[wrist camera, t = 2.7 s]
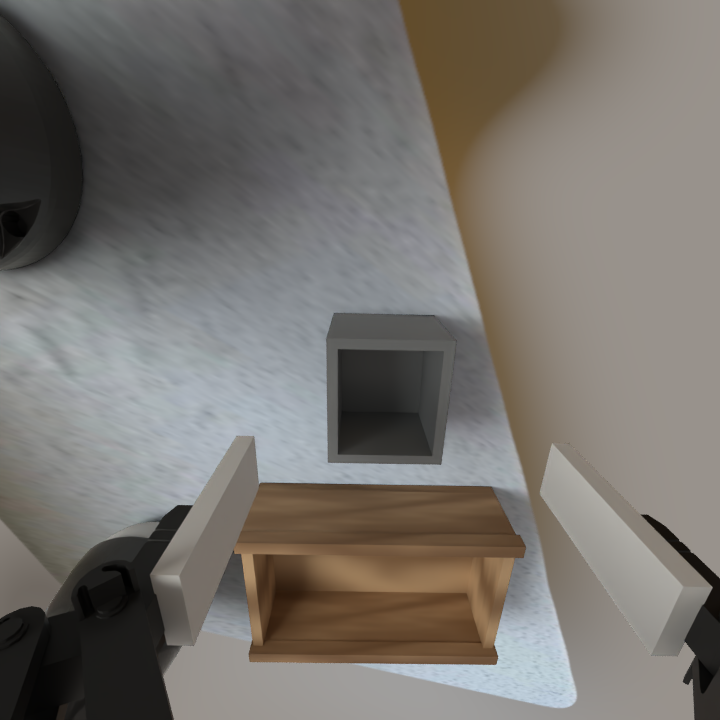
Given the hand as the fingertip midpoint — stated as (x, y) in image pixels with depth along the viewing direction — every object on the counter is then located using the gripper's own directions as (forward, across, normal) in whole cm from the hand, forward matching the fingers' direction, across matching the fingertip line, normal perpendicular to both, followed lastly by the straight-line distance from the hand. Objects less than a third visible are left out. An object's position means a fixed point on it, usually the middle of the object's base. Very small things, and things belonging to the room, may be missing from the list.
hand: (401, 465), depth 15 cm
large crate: (+11, 0, -16) cm, 20 cm away
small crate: (+11, 0, 0) cm, 11 cm away
